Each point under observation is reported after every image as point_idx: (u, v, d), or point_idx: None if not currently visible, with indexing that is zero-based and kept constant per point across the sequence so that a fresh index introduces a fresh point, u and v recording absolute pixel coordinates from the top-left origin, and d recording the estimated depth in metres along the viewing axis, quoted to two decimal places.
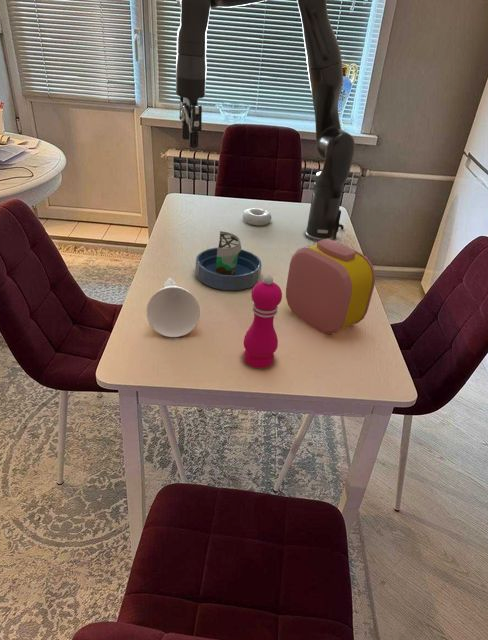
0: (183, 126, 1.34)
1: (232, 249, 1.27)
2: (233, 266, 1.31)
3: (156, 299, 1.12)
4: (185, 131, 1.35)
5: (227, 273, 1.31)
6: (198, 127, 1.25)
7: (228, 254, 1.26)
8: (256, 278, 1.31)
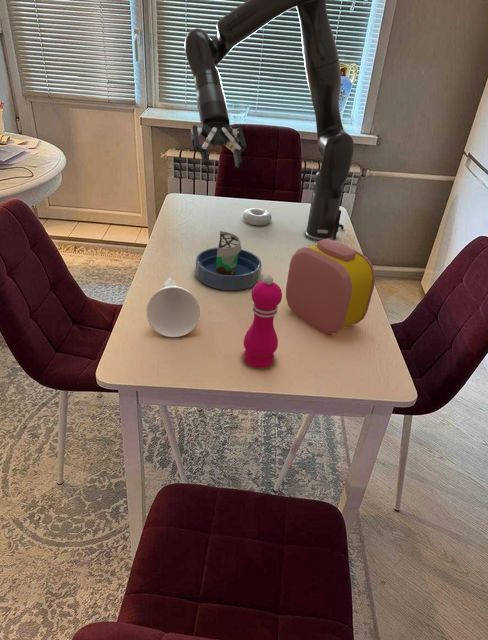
0: (234, 155, 1.31)
1: (232, 249, 1.27)
2: (233, 266, 1.31)
3: (156, 299, 1.12)
4: (235, 158, 1.30)
5: (227, 273, 1.31)
6: None
7: (228, 254, 1.26)
8: (256, 278, 1.31)
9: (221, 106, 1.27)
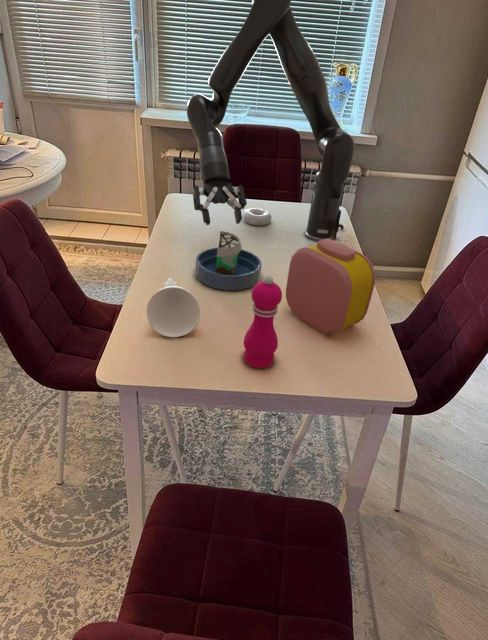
0: (234, 212, 1.36)
1: (232, 249, 1.27)
2: (233, 266, 1.31)
3: (156, 299, 1.12)
4: (235, 216, 1.35)
5: (227, 273, 1.31)
6: None
7: (228, 254, 1.26)
8: (256, 278, 1.31)
9: (222, 167, 1.32)
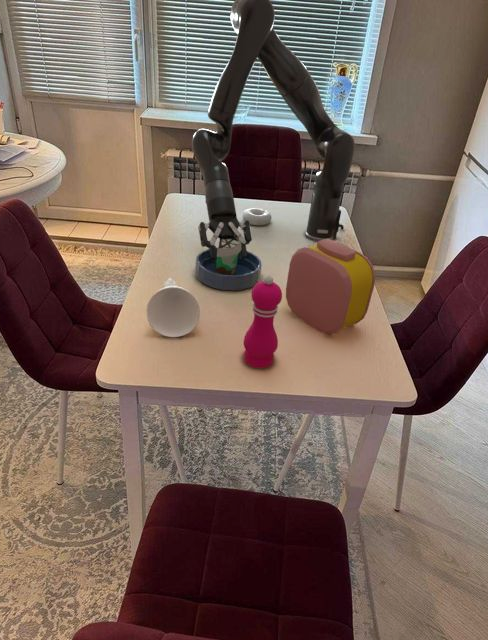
0: None
1: (232, 249, 1.27)
2: (233, 266, 1.31)
3: (156, 299, 1.12)
4: (240, 252, 1.33)
5: (227, 273, 1.31)
6: None
7: (228, 254, 1.26)
8: (256, 278, 1.31)
9: (228, 202, 1.30)
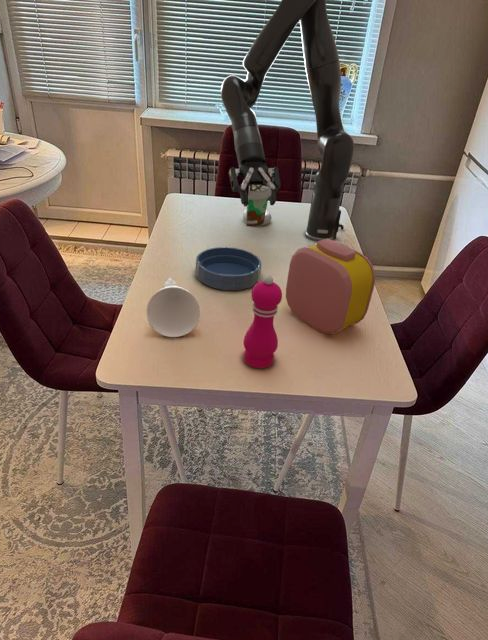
0: None
1: (263, 192, 1.29)
2: (263, 211, 1.34)
3: (156, 299, 1.12)
4: (270, 197, 1.36)
5: (258, 218, 1.34)
6: None
7: (260, 197, 1.29)
8: (256, 278, 1.31)
9: (258, 147, 1.33)
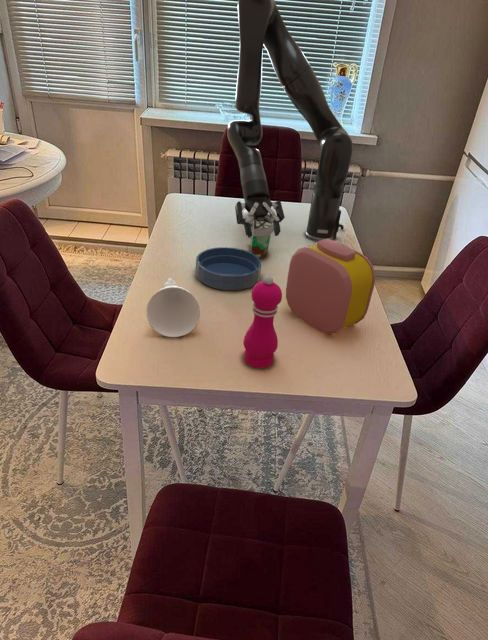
0: (273, 225, 1.47)
1: (266, 229, 1.40)
2: (266, 245, 1.45)
3: (156, 299, 1.12)
4: (274, 228, 1.46)
5: (261, 252, 1.45)
6: (238, 218, 1.43)
7: (263, 234, 1.40)
8: (256, 278, 1.31)
9: (262, 184, 1.43)
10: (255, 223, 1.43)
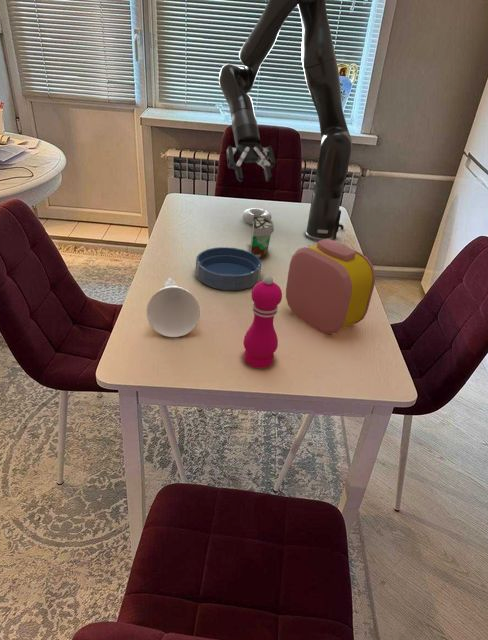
0: (264, 171, 1.48)
1: (266, 229, 1.40)
2: (266, 245, 1.45)
3: (156, 299, 1.12)
4: (265, 174, 1.47)
5: (261, 252, 1.45)
6: None
7: (263, 234, 1.40)
8: (256, 278, 1.31)
9: (253, 128, 1.44)
10: (255, 223, 1.43)
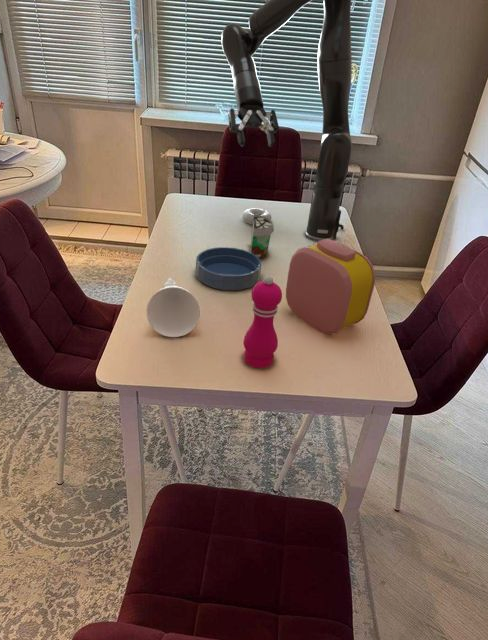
0: (267, 136, 1.43)
1: (266, 229, 1.40)
2: (266, 245, 1.45)
3: (156, 299, 1.12)
4: (268, 139, 1.42)
5: (261, 252, 1.45)
6: None
7: (263, 234, 1.40)
8: (256, 278, 1.31)
9: (256, 91, 1.39)
10: (255, 223, 1.43)
